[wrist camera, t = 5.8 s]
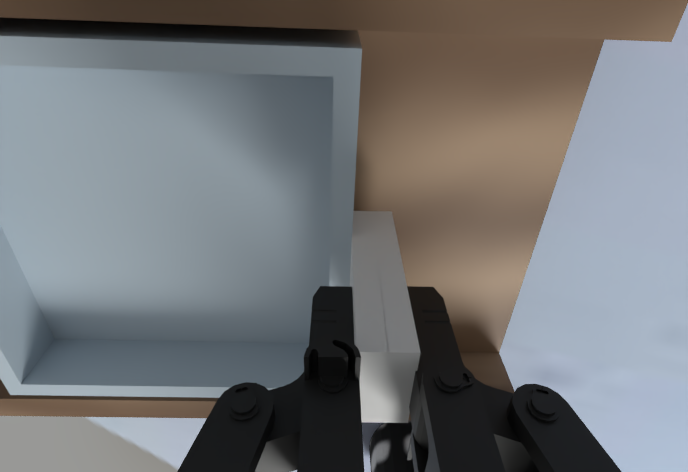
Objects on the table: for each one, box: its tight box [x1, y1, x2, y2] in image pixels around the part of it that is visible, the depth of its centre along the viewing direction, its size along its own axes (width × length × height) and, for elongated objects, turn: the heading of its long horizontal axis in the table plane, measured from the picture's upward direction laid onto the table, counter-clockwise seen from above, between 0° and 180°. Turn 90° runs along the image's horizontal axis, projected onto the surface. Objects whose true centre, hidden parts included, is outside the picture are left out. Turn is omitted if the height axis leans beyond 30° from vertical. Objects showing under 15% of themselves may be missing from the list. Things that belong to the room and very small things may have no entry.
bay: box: [0, 0, 688, 421], centre depth 16 cm, size 18×25×4 cm
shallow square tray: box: [0, 18, 362, 398], centre depth 16 cm, size 14×14×3 cm
